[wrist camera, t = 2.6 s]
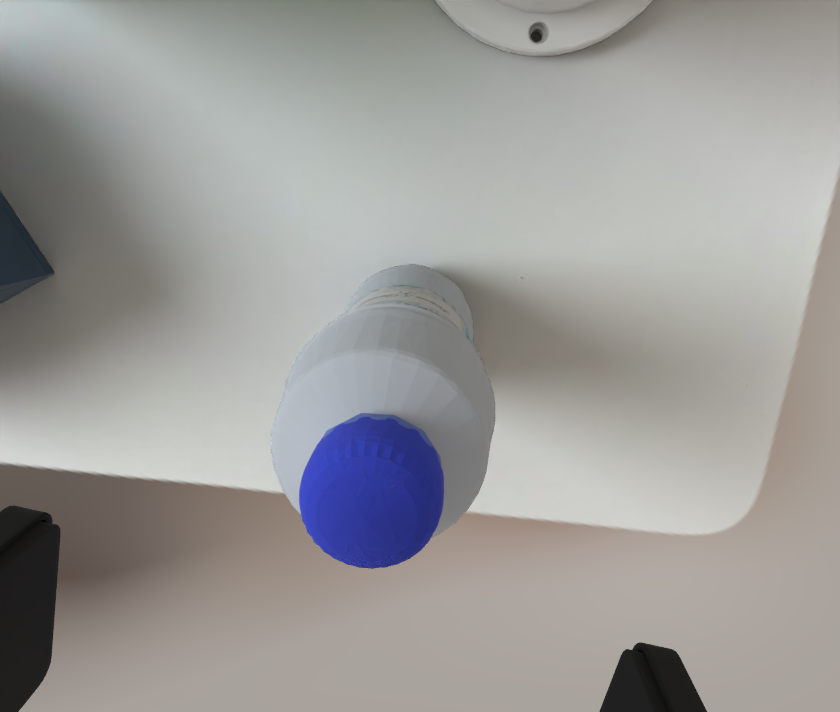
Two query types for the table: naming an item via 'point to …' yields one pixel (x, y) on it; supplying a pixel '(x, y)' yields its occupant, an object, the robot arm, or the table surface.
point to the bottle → (386, 420)
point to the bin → (18, 256)
